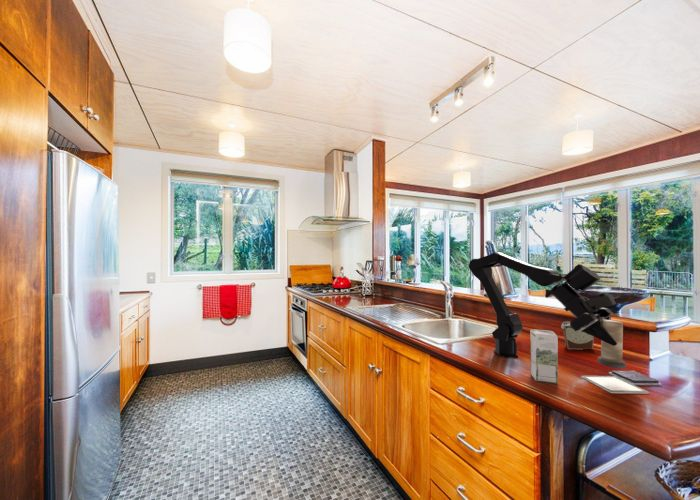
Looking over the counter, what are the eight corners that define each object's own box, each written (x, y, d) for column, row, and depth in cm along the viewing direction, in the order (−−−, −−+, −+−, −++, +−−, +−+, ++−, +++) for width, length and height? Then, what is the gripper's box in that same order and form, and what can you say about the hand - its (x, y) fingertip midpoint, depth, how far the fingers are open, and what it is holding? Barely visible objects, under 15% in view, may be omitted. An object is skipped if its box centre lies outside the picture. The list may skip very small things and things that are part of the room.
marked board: (611, 393, 77) (611, 391, 77) (581, 377, 87) (581, 375, 87) (649, 393, 77) (648, 391, 77) (614, 377, 87) (614, 376, 87)
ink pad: (633, 385, 82) (633, 381, 82) (608, 373, 90) (608, 370, 90) (661, 385, 82) (661, 381, 82) (634, 374, 90) (634, 370, 90)
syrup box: (551, 376, 88) (550, 329, 88) (558, 384, 82) (557, 334, 83) (530, 374, 90) (529, 328, 90) (535, 381, 84) (535, 332, 84)
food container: (585, 345, 120) (585, 321, 120) (596, 349, 114) (596, 325, 114) (554, 344, 121) (554, 320, 121) (564, 348, 115) (563, 324, 115)
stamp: (599, 365, 82) (600, 321, 82) (596, 359, 87) (596, 318, 87) (628, 370, 78) (629, 325, 78) (622, 363, 83) (623, 320, 83)
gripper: (582, 285, 81) (637, 333, 72) (603, 282, 91) (653, 323, 82) (551, 308, 87) (597, 355, 78) (574, 303, 98) (617, 343, 88)
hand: (618, 343), depth 81 cm, fingers closed on stamp, 5 cm apart
